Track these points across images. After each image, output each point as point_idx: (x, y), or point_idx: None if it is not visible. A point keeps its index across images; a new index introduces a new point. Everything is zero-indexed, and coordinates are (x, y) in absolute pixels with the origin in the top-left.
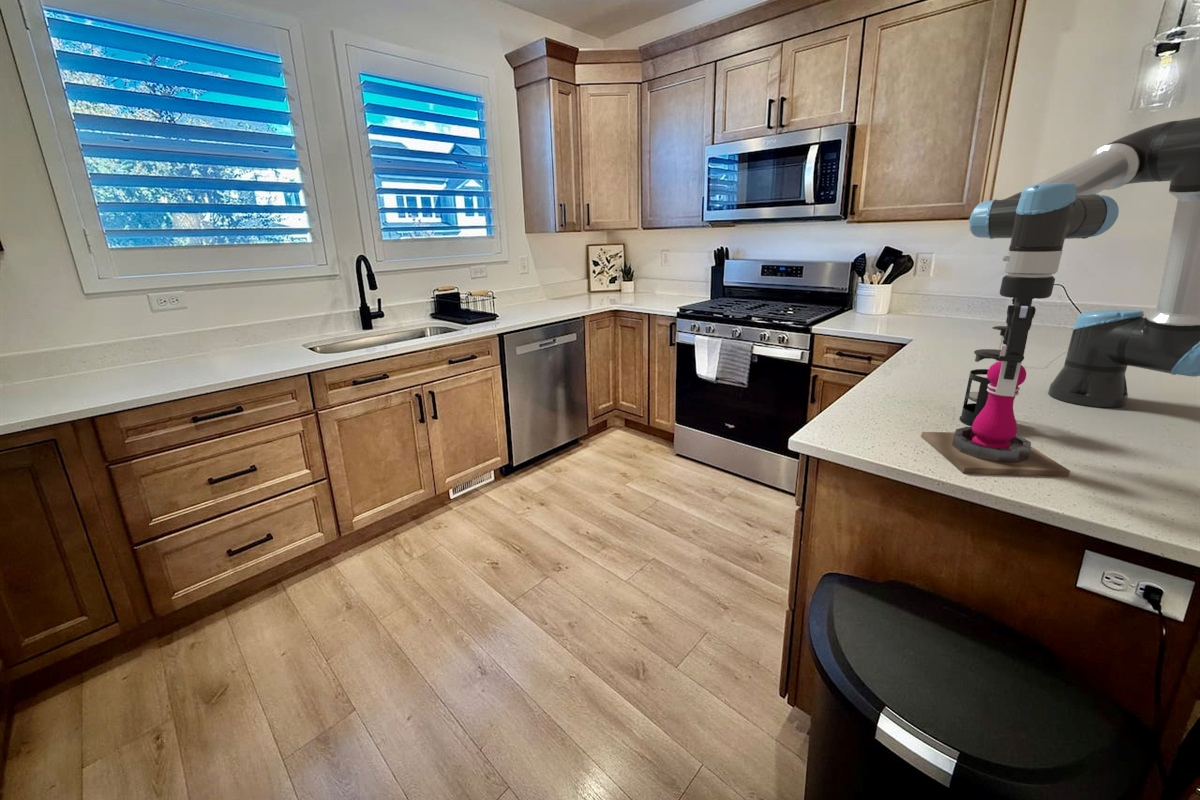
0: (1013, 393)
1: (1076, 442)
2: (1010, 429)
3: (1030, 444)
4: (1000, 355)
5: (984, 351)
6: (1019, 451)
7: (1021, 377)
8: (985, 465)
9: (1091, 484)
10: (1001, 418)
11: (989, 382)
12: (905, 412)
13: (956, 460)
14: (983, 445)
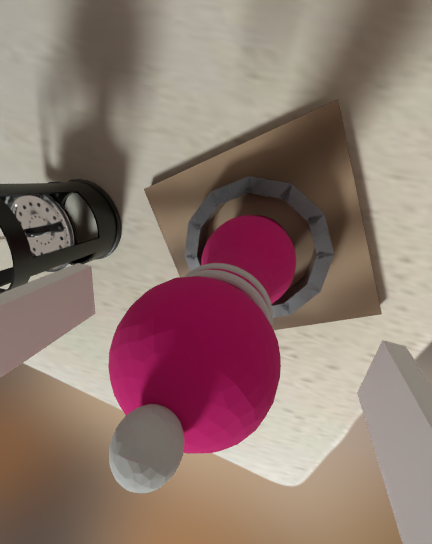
0: (413, 360)
1: (107, 50)
2: (286, 243)
3: (265, 180)
4: (4, 374)
5: None
6: (324, 214)
7: (260, 325)
8: (357, 274)
9: (373, 55)
10: (280, 276)
11: (26, 260)
12: (103, 332)
13: (342, 318)
14: (309, 282)
